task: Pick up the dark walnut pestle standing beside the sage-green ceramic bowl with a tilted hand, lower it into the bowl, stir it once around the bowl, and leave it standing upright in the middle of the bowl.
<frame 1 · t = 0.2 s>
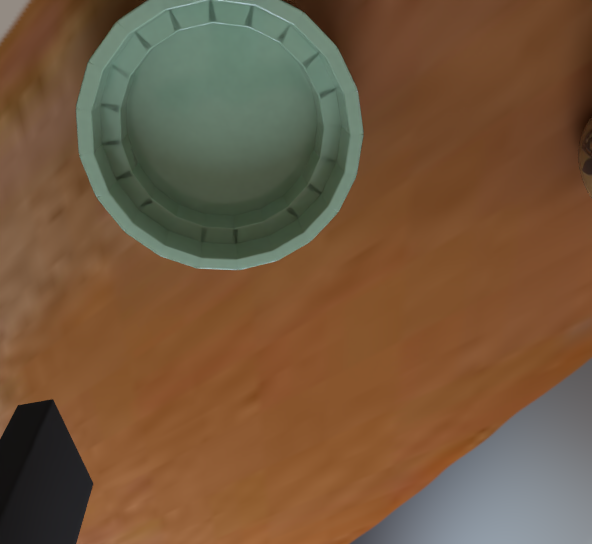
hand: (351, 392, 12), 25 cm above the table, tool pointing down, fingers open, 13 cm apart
bowl: (224, 124, 34), on the table
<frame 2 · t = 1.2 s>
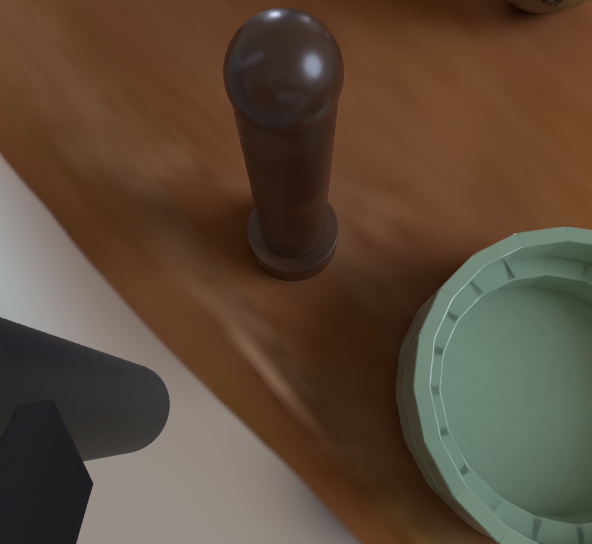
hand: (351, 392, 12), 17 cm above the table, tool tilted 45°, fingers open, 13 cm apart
pestle: (293, 239, 31), on the table
bowl: (535, 394, 29), on the table
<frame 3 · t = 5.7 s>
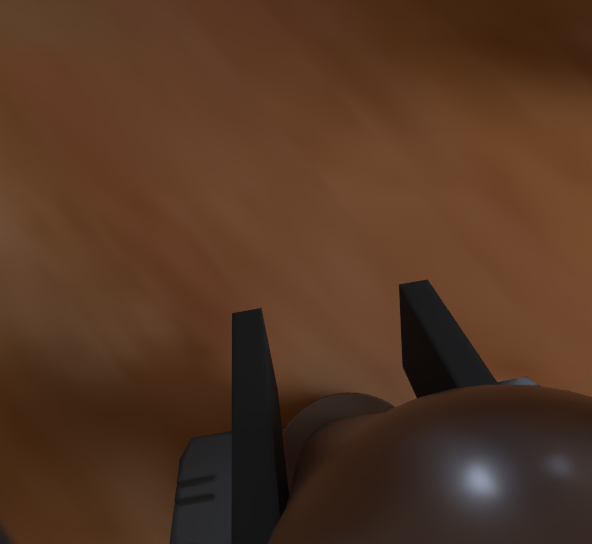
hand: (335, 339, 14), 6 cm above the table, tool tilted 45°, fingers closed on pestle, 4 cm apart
pestle: (347, 471, 18), on the table, touching gripper
when the fingers open (6 cm above the table, at t = 16.3 s): pestle stays where it is, resting on bowl.
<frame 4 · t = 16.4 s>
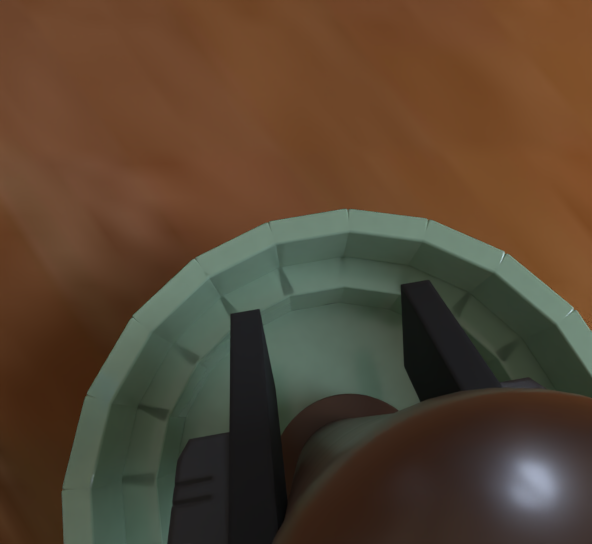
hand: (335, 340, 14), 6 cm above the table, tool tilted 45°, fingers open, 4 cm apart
pestle: (347, 472, 18), point 1 cm above the table, touching bowl
bowl: (344, 468, 19), on the table
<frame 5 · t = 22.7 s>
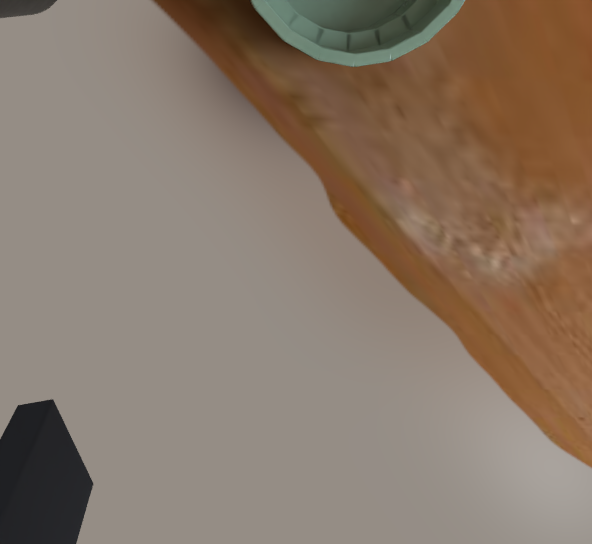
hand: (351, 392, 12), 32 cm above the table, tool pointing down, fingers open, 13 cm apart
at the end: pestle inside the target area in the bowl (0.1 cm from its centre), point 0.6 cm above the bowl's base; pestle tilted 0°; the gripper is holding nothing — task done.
